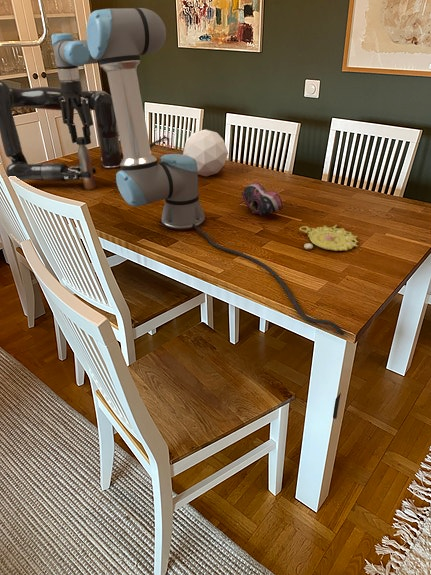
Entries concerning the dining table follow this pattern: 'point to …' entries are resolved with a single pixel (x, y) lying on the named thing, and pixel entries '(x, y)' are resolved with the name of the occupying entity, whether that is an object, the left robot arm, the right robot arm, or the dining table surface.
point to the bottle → (86, 166)
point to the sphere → (206, 151)
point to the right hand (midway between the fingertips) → (81, 142)
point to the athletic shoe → (261, 200)
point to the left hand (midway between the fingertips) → (93, 172)
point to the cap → (80, 141)
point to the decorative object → (330, 238)
